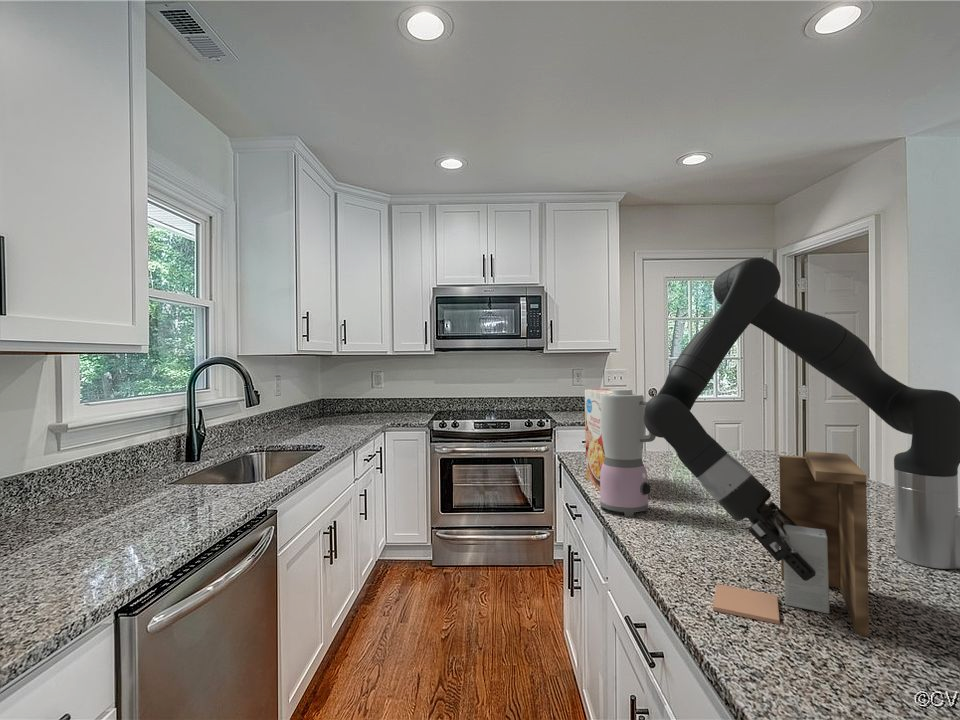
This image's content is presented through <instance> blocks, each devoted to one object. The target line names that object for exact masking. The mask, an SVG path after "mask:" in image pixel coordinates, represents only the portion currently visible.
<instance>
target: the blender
mask: <svg viewBox="0 0 960 720" xmlns="http://www.w3.org/2000/svg"><path fill="white" fill-rule="evenodd" d="M611 390H612V394H603V395H602V396H601V435H602V441H603V447H604V452H605V459H604V463H603V465H602V467H601V471H600V491H599V492H600V499H599V500H600V501H599V502H600V503H599V505H600V509H601V510H604V509H606V510H608V511H613V512H619V513H624V517H626V518H633V517H634V513H638V512H644V513H649V512H648V511H649V501H648V500H649V497H648V496H649V495H650V493H651V491H652V488H651V487H652V486H651V484H650V483H648V482H649V481H648V480H649V479H648V471H647V469H646V466H645V464H644V463H643V450H644V444H645V443H649V442H650V443H651V442H654V441H655V439H656V436H654V435H653V434H651V433H650V432H649V431H648V435H647V434H646V426H645V424H644V412H645V407H646V404H647V402H648V401H645V399H644V398H645V397H644V395H643V394H641V393H633V389H631V388H629V389H627V388H617V389H616V388H614V389H611Z"/></svg>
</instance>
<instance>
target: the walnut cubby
mask: <svg viewBox="0 0 960 720" xmlns="http://www.w3.org/2000/svg"><path fill="white" fill-rule="evenodd" d="M778 463H779V464H778V467H779V469H778V470H779V472H778V475H779V479H778V480H779V509H780V510H782V511H783V512H784V513H785V514H786V515H787V516H788V517H789V518H790V519H791V520H792V521H793V522H794V523H795V524H796V525H798V526H800V527H807V528H815V529H824V530H825V531H826V534H827V538H828V574H829V588H834V587H835V588H836V589H839V588H840V589H839V591H840V594H841V596H842V599H843V602H844V604H845V608H846V610H847V613H848V616H849V618H851V619H850V622H851V624H852V627H853V629H854V632H855V635H859V636H864V637H870V606H869V603H870V599H869V559H868V558H869V556H868V555H869V554H868V553H869V552H868V551H869V550H868V504H867V503H868V501H867V500H868V497H867V496H868V495H867V493H868V492H867V474H866V473H865V472H864V471H863V469H861V468H860V467H859V466H858V465H857V463H855V462H854V460H853V459H852V458H851V457H850V456H849V455H848V454H847V453H836V452H835V453H834V452H822V451H821V452H820V451H818V452H817V451H804V456H797V455H796V456H795V455H783V454H781V455H778ZM783 524H784V523H783ZM780 575H781V576H780V577H782V578H781V579H783V580H784V561H782V560H780Z"/></svg>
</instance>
